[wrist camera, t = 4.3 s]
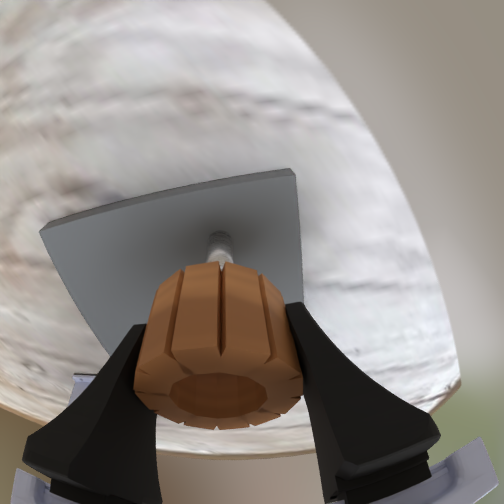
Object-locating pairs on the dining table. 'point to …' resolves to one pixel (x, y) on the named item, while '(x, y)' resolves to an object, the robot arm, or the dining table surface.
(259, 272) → the grey rectangular slab
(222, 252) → the metal post
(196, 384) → the bead
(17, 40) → the dining table surface
